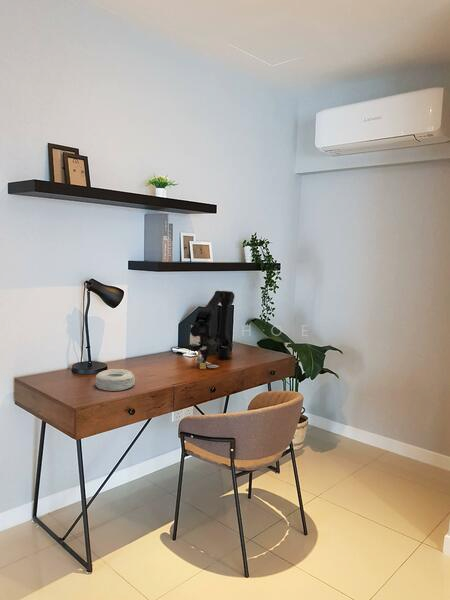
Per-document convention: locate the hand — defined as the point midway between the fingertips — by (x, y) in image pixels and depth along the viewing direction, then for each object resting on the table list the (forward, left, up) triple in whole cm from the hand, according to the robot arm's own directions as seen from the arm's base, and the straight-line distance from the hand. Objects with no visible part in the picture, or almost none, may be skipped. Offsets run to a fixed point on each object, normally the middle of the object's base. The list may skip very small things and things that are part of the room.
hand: (205, 360), depth 263 cm
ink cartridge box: (-11, -25, -3) cm, 28 cm away
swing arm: (+1, -2, -2) cm, 3 cm away
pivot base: (-2, -8, -3) cm, 9 cm away
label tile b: (-2, +4, -3) cm, 5 cm away
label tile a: (-2, -3, -3) cm, 5 cm away
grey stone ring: (+58, +12, -3) cm, 59 cm away
